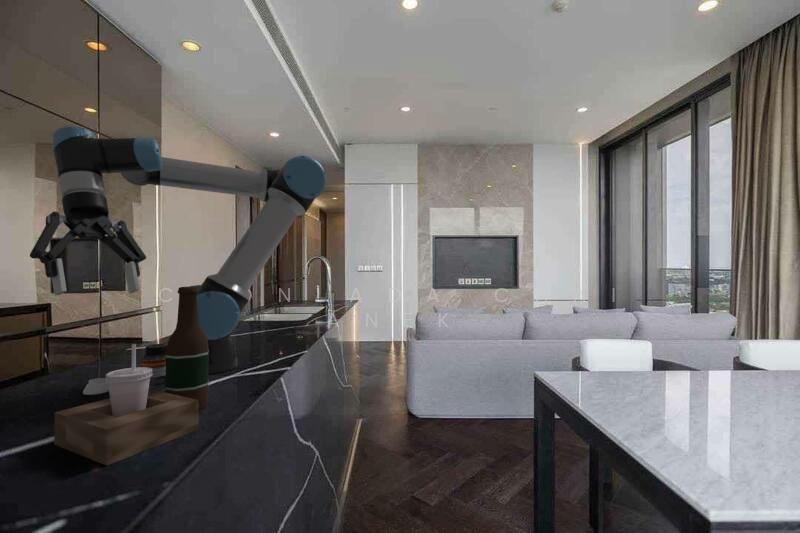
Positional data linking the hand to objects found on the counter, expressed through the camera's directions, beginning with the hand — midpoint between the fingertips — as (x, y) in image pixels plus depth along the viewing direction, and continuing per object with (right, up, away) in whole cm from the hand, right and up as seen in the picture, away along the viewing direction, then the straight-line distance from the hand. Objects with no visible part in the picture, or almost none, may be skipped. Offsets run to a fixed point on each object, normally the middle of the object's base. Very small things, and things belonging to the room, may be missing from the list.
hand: (100, 292), depth 80 cm
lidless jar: (-7, -23, +8) cm, 26 cm away
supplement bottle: (+9, -23, +3) cm, 25 cm away
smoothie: (+17, -22, -17) cm, 32 cm away
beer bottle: (+20, -23, -3) cm, 30 cm away
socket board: (+17, -23, -16) cm, 33 cm away
